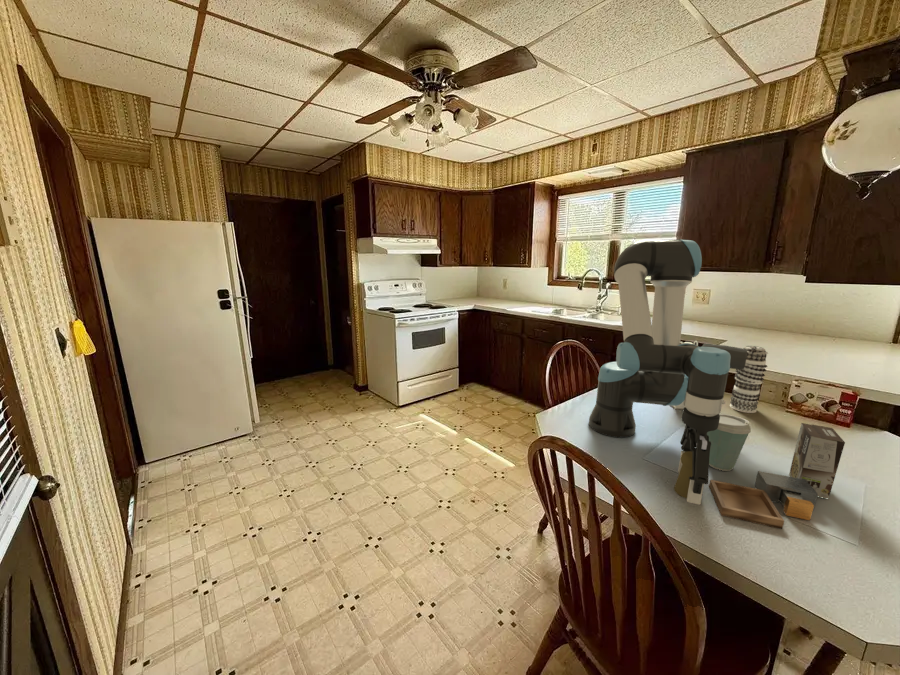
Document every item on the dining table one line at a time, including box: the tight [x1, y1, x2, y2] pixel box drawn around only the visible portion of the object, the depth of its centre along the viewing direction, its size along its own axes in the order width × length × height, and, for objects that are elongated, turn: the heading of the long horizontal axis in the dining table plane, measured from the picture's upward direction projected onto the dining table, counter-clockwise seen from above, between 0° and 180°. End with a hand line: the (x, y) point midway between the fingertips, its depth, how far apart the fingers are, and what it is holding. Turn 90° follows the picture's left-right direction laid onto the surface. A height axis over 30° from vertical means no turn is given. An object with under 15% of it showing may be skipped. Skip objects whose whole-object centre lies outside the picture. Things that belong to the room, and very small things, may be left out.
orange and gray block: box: [778, 489, 815, 521], centre depth 91 cm, size 4×12×4 cm, turn 157°
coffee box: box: [788, 422, 846, 500], centre depth 96 cm, size 9×6×16 cm
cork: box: [673, 451, 692, 499], centre depth 94 cm, size 6×6×11 cm
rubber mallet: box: [701, 343, 747, 370], centre depth 126 cm, size 12×8×30 cm, turn 54°
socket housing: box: [754, 470, 818, 509], centre depth 93 cm, size 10×6×4 cm, turn 67°
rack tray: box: [708, 479, 785, 530], centre depth 90 cm, size 12×12×2 cm
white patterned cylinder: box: [729, 345, 769, 414], centre depth 142 cm, size 9×9×25 cm
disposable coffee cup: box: [707, 413, 752, 472], centre depth 106 cm, size 11×11×15 cm
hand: (688, 487), depth 95 cm, fingers open, 12 cm apart
